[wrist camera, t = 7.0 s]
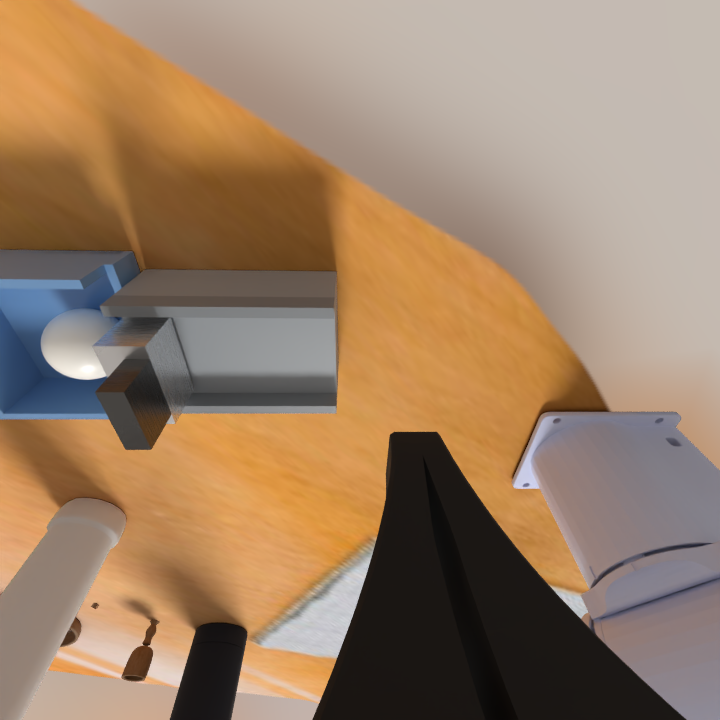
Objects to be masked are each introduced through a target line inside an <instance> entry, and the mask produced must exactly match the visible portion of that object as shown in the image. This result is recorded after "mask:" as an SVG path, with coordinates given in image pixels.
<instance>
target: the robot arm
mask: <svg viewBox="0 0 720 720" xmlns="http://www.w3.org/2000/svg"><path fill="white" fill-rule="evenodd" d="M680 420H681V416H680V415H679V414H678V413H677V412H546V413H543V414H542V415H541V416H540V418H539V420H538V423H537V425H536V427H535V430H534V432H533V434H532V436H531V439H530V441H529V443H528V446H527V448H526V450H525V452H524V455H523V457H522V459H521V462H520V464H519V466H518V469H517V471H516V473H515V475H514V478H513V480H512V485H513V487H514V488H517V489H535V488H540V490H541V492H542V494H543V496H544V498H545V500H546V502H547V504H548V506H549V508H550V510H551V512H552V514H553V516H554V518H555V520H556V522H557V524H558V526H559V528H560V530H561V533H562V535H563V537H564V539H565V541H566V543H567V545H568V547H569V549H570V551H571V553H572V555H573V557H574V559H575V561H576V563H577V565H578V567H579V569H580V571H581V573H582V575H583V577H584V579H585V581H586V583H587V585H588V587H589V589H590V590H588V591H587V592H584V593H582V594H581V597H582V599H583V601H584V603H585V606H586V608H587V610H588V612H589V613H586V614H585V615H584V616H583V617H582V619H580V618H579V617H578V616H577V615H576V614H575V613H574V612H573V611H572V610H571V608H570V607H569V606H568V605H567V604H566V603H565V602H564V601H563V600H562V599H561V598H560V597H559V596H558V595H557V594H556V593H555V592H554V590H553V589H552V588H551V587H550V586H549V585H548V584H547V583H546V582H545V580H544V579H543V578H542V577H541V576H540V575H539V574H538V573H537V571H536V570H535V569H534V568H533V567H532V566H531V564H530V563H529V562H528V561H527V560H526V559H525V557H524V556H523V555H522V554H521V553H520V551H519V550H518V549H517V548H516V547H515V545H514V544H513V543H512V542H511V540H510V539H509V538H508V536H507V535H506V534H505V533H504V531H503V530H502V529H501V527H500V526H499V525H498V523H497V522H496V521H495V520H494V518H493V517H492V515H491V514H490V513H489V511H488V510H487V509H486V507H485V506H484V504H483V503H482V502H481V500H480V499H479V497H478V496H477V494H476V493H475V491H474V490H473V488H472V487H471V486H470V484H469V483H468V481H467V480H466V478H465V477H464V475H463V473H462V472H461V470H460V469H459V467H458V465H457V464H456V462H455V461H454V459H453V457H452V456H451V454H450V452H449V451H448V449H447V447H446V445H445V444H444V442H443V440H442V438H441V436H440V435H439V434H438V433H437V432H394V433H392V434H390V439H389V449H388V459H387V469H386V501H385V506H384V511H383V515H382V519H381V524H380V528H379V532H378V536H377V540H376V544H375V547H374V551H373V555H372V558H371V561H370V565H369V568H368V572H367V575H366V578H365V581H364V584H363V587H362V590H361V593H360V596H359V600H358V603H357V606H356V609H355V611H354V614H353V617H352V620H351V623H350V626H349V628H348V631H347V634H346V636H345V639H344V642H343V644H342V647H341V650H340V652H339V655H338V658H337V660H336V663H335V666H334V668H333V671H332V673H331V676H330V679H329V681H328V684H327V686H326V688H325V691H324V693H323V696H322V698H321V701H320V703H319V706H318V708H317V710H316V713H315V715H314V717H313V720H720V470H719V469H717V467H716V466H714V464H712V462H710V461H709V460H708V459H707V458H706V457H705V456H704V455H703V454H702V453H701V452H700V451H699V450H698V449H697V448H696V447H695V446H694V445H693V444H692V443H691V442H690V441H689V440H688V439H687V438H686V437H685V436H684V435H683V434H682V433H681V432H680V431H679V430H678V429H677V428H676V426H677V424H678V423H679V422H680Z"/></svg>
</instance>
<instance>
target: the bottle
mask: <svg viewBox="0 0 720 720" xmlns="http://www.w3.org/2000/svg"><path fill="white" fill-rule="evenodd" d="M125 525H126V515H125V514H124V513H123V512H122V510H121V509H119V508H118V507H116V506H114V505H113V504H111V503H108V502H105V501H102V500H100V499H93V498H76V499H73V500H71V501H69V502H67V503H66V504H64V505H63V506H62V507H61V508H60V509H59V510H58V512H57V513H56V514H55V515H54V517H53V518H52V519H51V521H50V522H49V524H48V526H47V530H48V532H47V533H46V534H45V536H44V537H43V538H42V540H41V541H40V542H39V544H38V545H37V547H36V548H35V549H34V551H33V552H32V553H31V555H30V556H29V557H28V559H27V560H26V561H25V563H24V564H23V565H22V567H21V568H20V570H19V571H18V572H17V574H16V575H15V576H14V578H13V579H12V580H11V582H10V583H9V584H8V586H7V587H6V589H5V590H4V591H3V593H2V594H1V595H0V720H22V719H23V717H24V715H25V713H26V711H27V709H28V708H29V705H30V704H31V702H32V699H33V698H34V696H35V694H36V692H37V690H38V688H39V686H40V684H41V682H42V680H43V679H44V677H45V674H46V673H47V671H48V669H49V667H50V665H51V663H52V661H53V659H54V657H55V655H56V653H57V651H58V650H59V648H60V646H61V644H62V642H63V640H64V638H65V636H66V634H67V632H68V630H69V628H70V626H71V624H72V622H73V621H74V619H75V617H76V615H77V613H78V611H79V609H80V607H81V605H82V603H83V601H84V599H85V597H86V595H87V594H88V592H89V590H90V588H91V586H92V584H93V582H94V580H95V578H96V576H97V574H98V572H99V570H100V568H101V566H102V565H103V563H104V561H105V559H106V557H107V555H108V553H109V551H110V549H111V548H113V547H115V545H116V544H117V543H118V542H119V540H120V538H121V536H122V534H123V531H124V529H125Z"/></svg>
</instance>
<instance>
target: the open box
mask: <svg viewBox="0 0 720 720" xmlns="http://www.w3.org/2000/svg"><path fill="white" fill-rule="evenodd" d="M139 274H140V270H139V267H138V264H137V262H136V259H135V256H134V253H133V251H82V250H5V249H0V419H109V418H108V416H107V414H106V412H105V410H104V409H103V407H102V405H101V403H100V401H99V399H98V398H97V396H96V394H95V391H96V390H97V389H98V388H99V387H100V386H101V385H102V384H103V382H104V381H105V380H106V379H107V378H108V377H107V376H105V377H102V378H98V379H91V380H83V379H75V378H71V377H68V376H66V375H63V374H61V373H60V372H58V371H56V370H55V369H54V368H53V367H52V366H50V364H49V363H48V362H47V361H46V359H45V358H44V356H43V353H42V350H41V337H42V333H43V331H44V329H45V327H46V326H47V324H48V323H49V322H50V321H51V320H52V319H53V318H55V317H56V316H58V315H59V314H61V313H64V312H66V311H69V310H73V309H80V308H89V309H96V310H100V311H101V309H100V307H99V306H100V305H101V304H102V303H104V302H105V301H106V300H107V299H109V298H110V297H111V296H112V295H114V294H115V293H116V292H117V291H119V290H120V289H121V288H122V287H124V286H125V285H126V284H127V283H129V282H130V281H131V280H132V279H134V278H135V277H136V276H137V275H139ZM115 318H116V319H117V320H119V321H120V320H121V319H122V317H115Z"/></svg>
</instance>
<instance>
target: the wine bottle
mask: <svg viewBox="0 0 720 720" xmlns="http://www.w3.org/2000/svg"><path fill="white" fill-rule="evenodd" d="M246 640H247V631H246V630H245V629H243V628H241V627H239V626H236V625H233V624H226V623H211V624H206V625H202V626H200V627H198V628H197V630H196V632H195V636H194V639H193V642H192V646H191V649H190V653H189V656H188V659H187V663H186V666H185V670H184V673H183V676H182V680H181V683H180V687H179V690H178V694H177V697H176V700H175V704H174V707H173V710H172V714H171V718H170V720H231V717H232V712H233V707H234V701H235V696H236V691H237V686H238V681H239V676H240V671H241V665H242V660H243V655H244V650H245V645H246Z"/></svg>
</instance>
